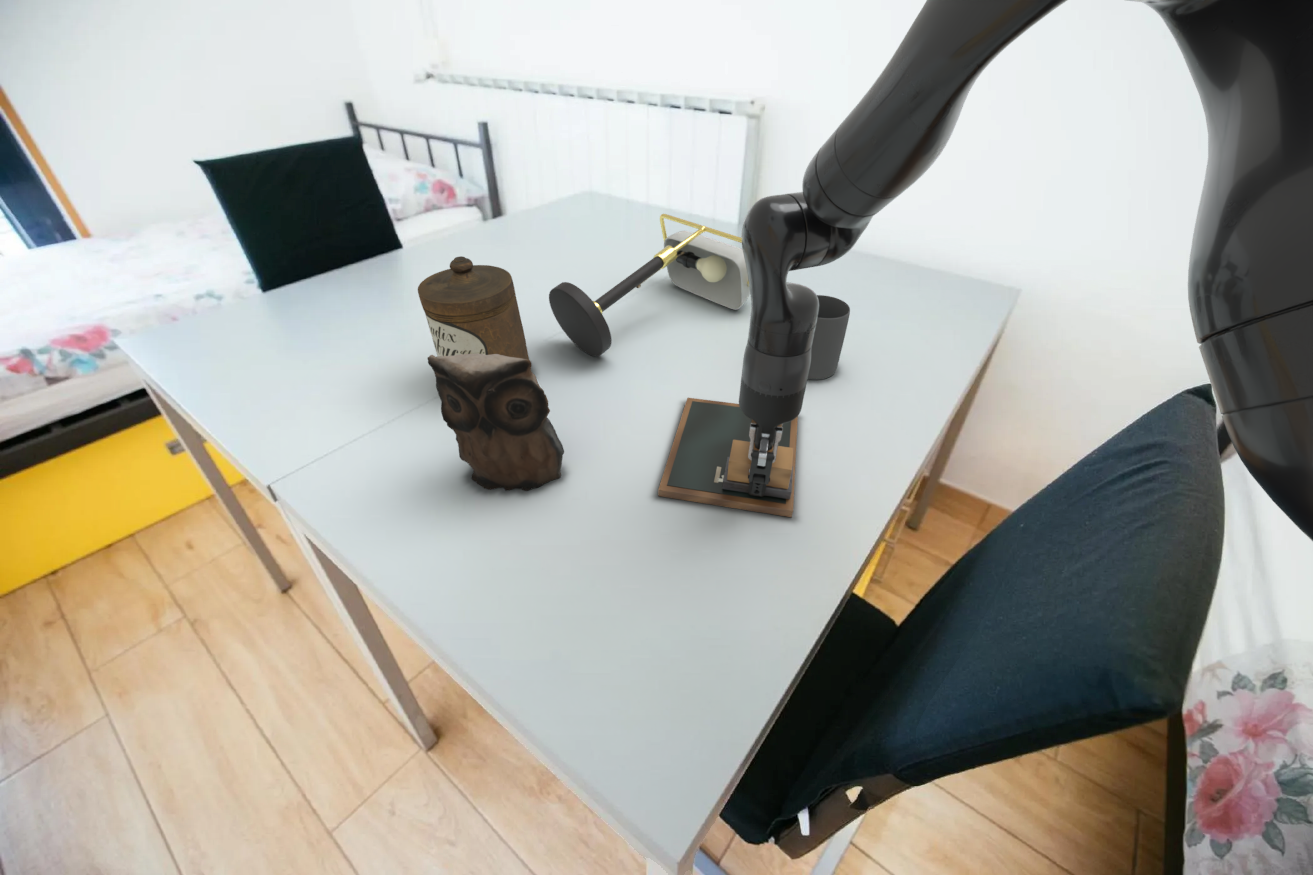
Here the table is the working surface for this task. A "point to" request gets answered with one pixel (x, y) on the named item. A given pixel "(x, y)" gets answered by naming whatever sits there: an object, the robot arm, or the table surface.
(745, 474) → the eraser
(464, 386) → the owl
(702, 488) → the board
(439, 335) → the wooden container
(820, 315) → the mug
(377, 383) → the table surface
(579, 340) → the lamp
